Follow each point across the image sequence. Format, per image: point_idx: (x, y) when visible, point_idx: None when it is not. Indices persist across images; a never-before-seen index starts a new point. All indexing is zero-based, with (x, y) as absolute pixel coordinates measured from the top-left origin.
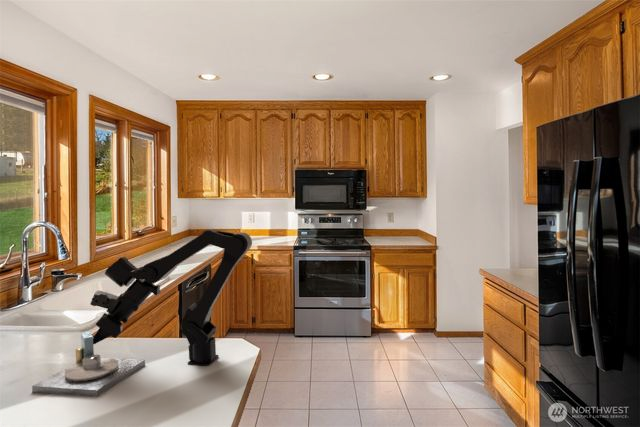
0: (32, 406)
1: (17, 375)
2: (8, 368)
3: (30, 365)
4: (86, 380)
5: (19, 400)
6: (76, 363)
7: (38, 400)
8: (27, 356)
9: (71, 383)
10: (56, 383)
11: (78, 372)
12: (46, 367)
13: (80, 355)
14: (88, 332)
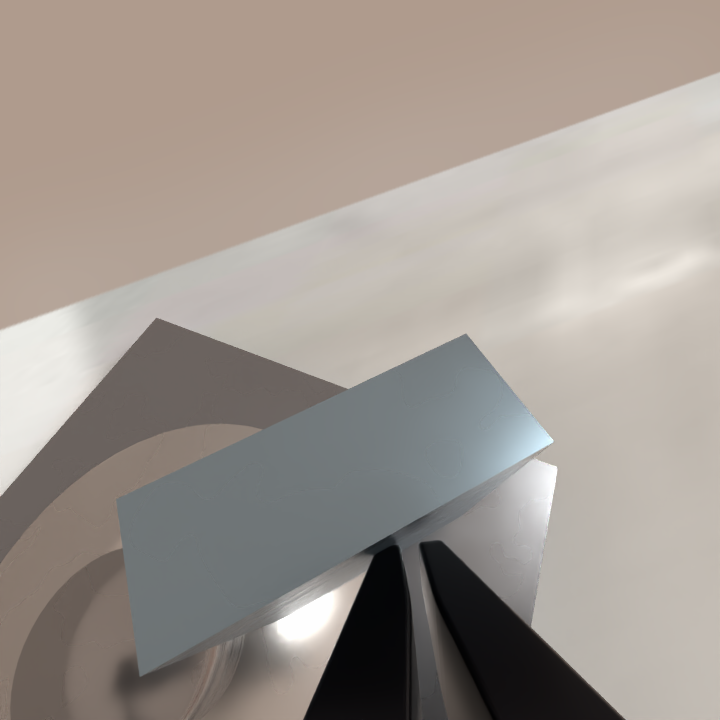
0: (4, 399)
1: (415, 210)
2: (501, 157)
3: (526, 206)
4: None
5: (118, 321)
6: None
7: (60, 399)
8: (639, 157)
9: None
10: (112, 426)
11: (101, 542)
12: (491, 272)
13: None
14: (512, 442)
